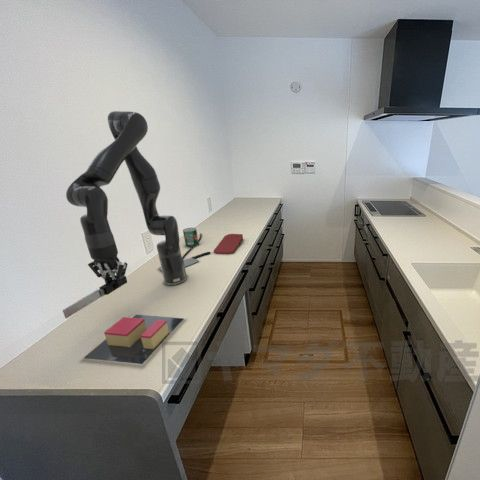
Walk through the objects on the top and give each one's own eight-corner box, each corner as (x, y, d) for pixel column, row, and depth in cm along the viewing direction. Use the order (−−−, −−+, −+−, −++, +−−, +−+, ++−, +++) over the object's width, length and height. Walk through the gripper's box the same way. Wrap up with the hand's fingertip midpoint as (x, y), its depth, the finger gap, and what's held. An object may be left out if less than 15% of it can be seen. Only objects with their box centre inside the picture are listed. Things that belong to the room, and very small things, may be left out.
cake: (126, 328, 95) (123, 317, 93) (147, 330, 94) (144, 318, 92) (108, 345, 88) (103, 332, 86) (130, 347, 87) (126, 334, 85)
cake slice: (160, 331, 94) (157, 319, 92) (169, 332, 94) (166, 320, 92) (143, 348, 86) (140, 335, 85) (153, 349, 86) (150, 336, 84)
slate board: (136, 316, 103) (135, 314, 103) (184, 320, 101) (184, 318, 101) (84, 360, 83) (83, 358, 82) (143, 366, 81) (142, 364, 80)
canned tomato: (184, 245, 172) (181, 229, 168) (196, 242, 177) (194, 226, 173) (187, 248, 166) (184, 232, 162) (200, 245, 171) (198, 229, 167)
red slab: (233, 259, 161) (245, 239, 183) (232, 252, 159) (244, 232, 180) (214, 258, 161) (228, 238, 183) (212, 251, 159) (227, 232, 181)
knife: (121, 281, 101) (119, 275, 100) (127, 282, 101) (125, 275, 100) (62, 318, 80) (59, 309, 79) (69, 318, 80) (66, 310, 79)
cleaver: (217, 256, 156) (208, 251, 162) (217, 255, 156) (208, 251, 162) (165, 274, 135) (157, 268, 140) (165, 273, 134) (157, 267, 140)
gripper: (128, 240, 93) (139, 283, 99) (92, 238, 94) (106, 280, 101) (111, 248, 86) (124, 293, 92) (72, 246, 87) (88, 291, 94)
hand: (114, 286), depth 96 cm, fingers closed on knife, 2 cm apart
